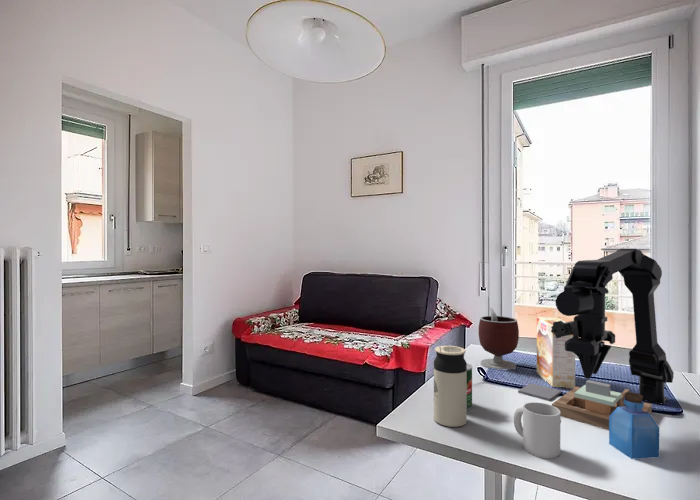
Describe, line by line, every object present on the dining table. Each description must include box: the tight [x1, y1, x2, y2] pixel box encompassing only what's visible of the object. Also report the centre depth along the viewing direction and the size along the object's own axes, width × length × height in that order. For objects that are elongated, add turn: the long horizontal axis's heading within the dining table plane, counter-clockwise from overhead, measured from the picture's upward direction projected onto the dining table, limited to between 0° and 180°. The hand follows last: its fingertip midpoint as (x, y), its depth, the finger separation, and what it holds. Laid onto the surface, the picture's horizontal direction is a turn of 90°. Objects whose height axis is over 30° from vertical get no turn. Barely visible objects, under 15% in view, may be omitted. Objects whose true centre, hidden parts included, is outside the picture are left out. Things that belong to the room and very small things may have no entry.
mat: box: [517, 383, 562, 402], centre depth 118 cm, size 9×9×1 cm
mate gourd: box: [478, 307, 520, 370], centre depth 146 cm, size 16×14×20 cm
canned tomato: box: [467, 363, 473, 411], centre depth 109 cm, size 8×8×11 cm
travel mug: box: [433, 345, 468, 428], centre depth 99 cm, size 8×8×18 cm
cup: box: [513, 401, 561, 459], centre depth 86 cm, size 7×10×9 cm
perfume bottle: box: [608, 391, 660, 460], centre depth 85 cm, size 6×6×12 cm
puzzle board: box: [551, 386, 653, 431], centre depth 103 cm, size 19×18×5 cm
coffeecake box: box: [536, 316, 576, 389], centre depth 129 cm, size 15×7×20 cm, turn 172°
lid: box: [574, 379, 622, 406], centre depth 101 cm, size 8×8×4 cm
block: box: [585, 399, 611, 416], centre depth 101 cm, size 4×4×5 cm
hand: (590, 375), depth 97 cm, fingers open, 5 cm apart
